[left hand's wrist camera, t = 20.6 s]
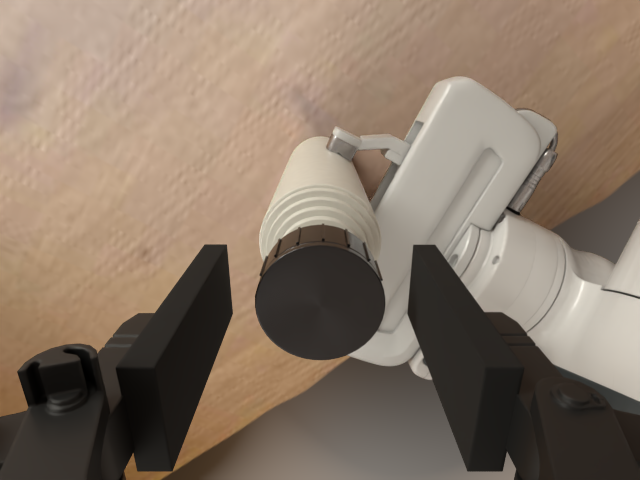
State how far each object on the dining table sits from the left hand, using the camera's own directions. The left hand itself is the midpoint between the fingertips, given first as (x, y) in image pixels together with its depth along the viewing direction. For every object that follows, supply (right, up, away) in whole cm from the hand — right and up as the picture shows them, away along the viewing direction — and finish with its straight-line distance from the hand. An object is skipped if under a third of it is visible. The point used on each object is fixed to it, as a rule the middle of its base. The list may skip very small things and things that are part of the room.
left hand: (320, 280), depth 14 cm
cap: (0, 0, -1) cm, 1 cm away
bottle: (0, +7, +19) cm, 21 cm away
